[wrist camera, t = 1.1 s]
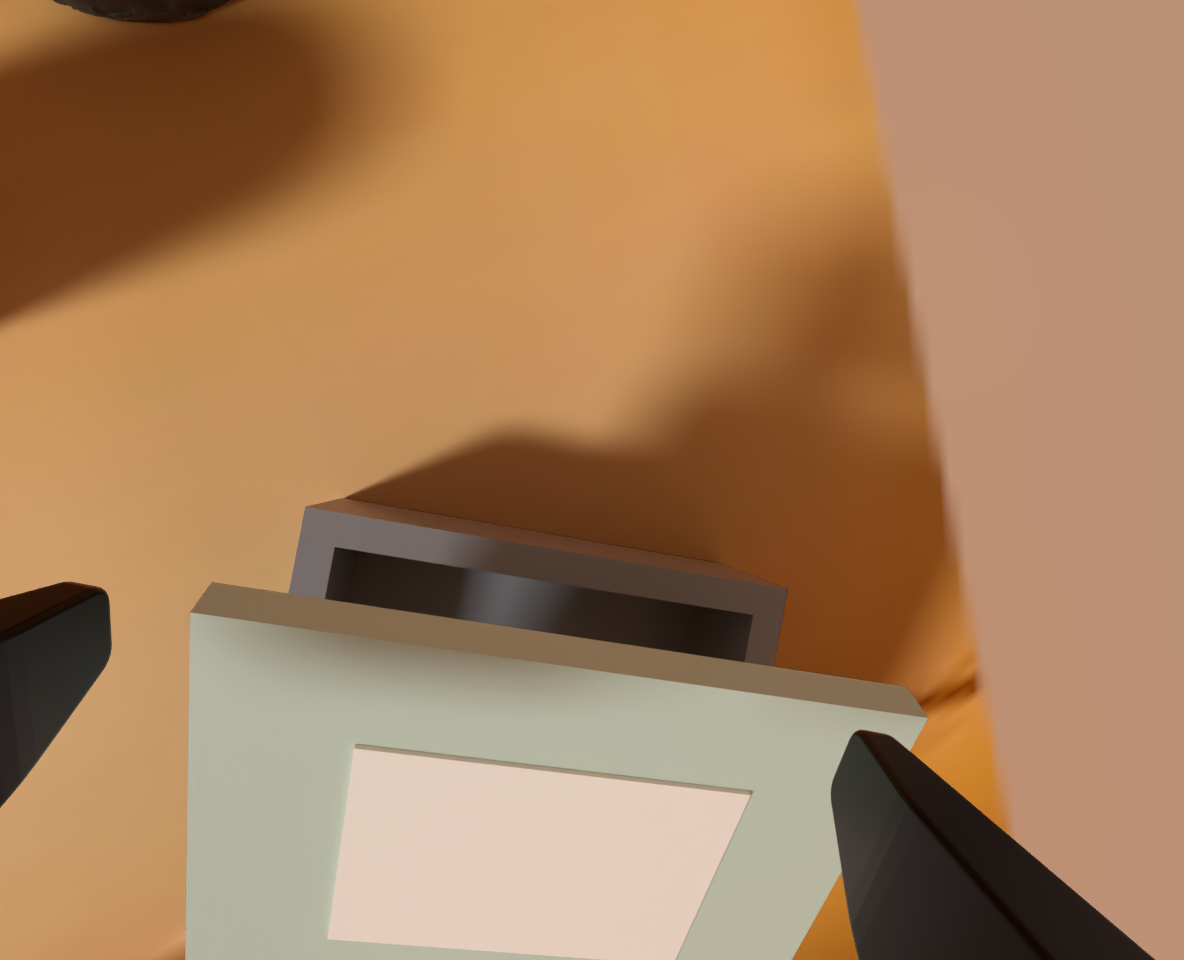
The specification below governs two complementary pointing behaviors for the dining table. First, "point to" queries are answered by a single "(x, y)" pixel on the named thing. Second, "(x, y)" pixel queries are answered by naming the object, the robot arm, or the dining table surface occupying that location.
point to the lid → (502, 790)
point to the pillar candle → (144, 8)
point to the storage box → (534, 581)
